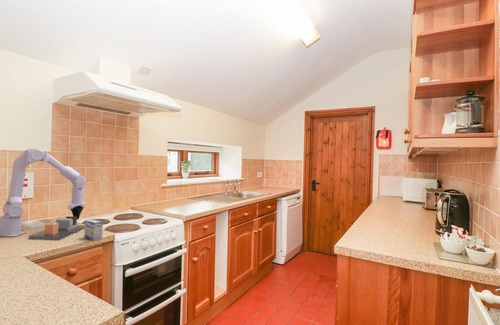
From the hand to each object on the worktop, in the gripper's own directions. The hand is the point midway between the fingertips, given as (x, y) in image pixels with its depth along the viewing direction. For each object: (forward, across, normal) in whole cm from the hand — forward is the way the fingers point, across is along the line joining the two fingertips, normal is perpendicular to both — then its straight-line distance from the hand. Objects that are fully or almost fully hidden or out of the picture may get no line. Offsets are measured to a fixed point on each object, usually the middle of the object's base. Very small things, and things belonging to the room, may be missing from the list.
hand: (76, 219), depth 158 cm
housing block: (+3, -22, 0) cm, 22 cm away
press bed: (+4, -14, 0) cm, 15 cm away
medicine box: (+4, -21, -20) cm, 29 cm away
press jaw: (+3, -8, 0) cm, 9 cm away
